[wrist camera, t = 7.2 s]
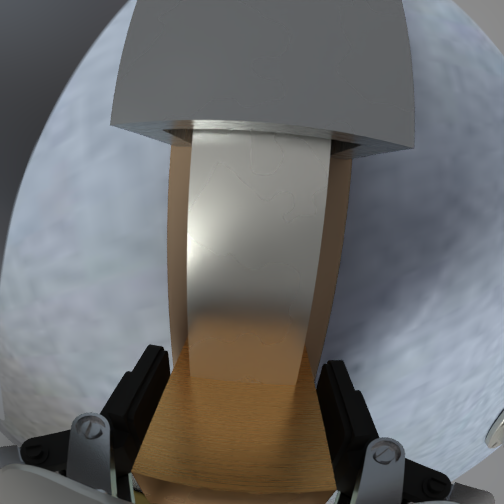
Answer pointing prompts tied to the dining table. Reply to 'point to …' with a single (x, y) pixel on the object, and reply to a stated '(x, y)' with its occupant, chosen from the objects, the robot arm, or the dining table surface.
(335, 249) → the board
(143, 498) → the brown bark cylinder
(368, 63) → the sleeve
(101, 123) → the dining table surface
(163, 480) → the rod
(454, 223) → the dining table surface
